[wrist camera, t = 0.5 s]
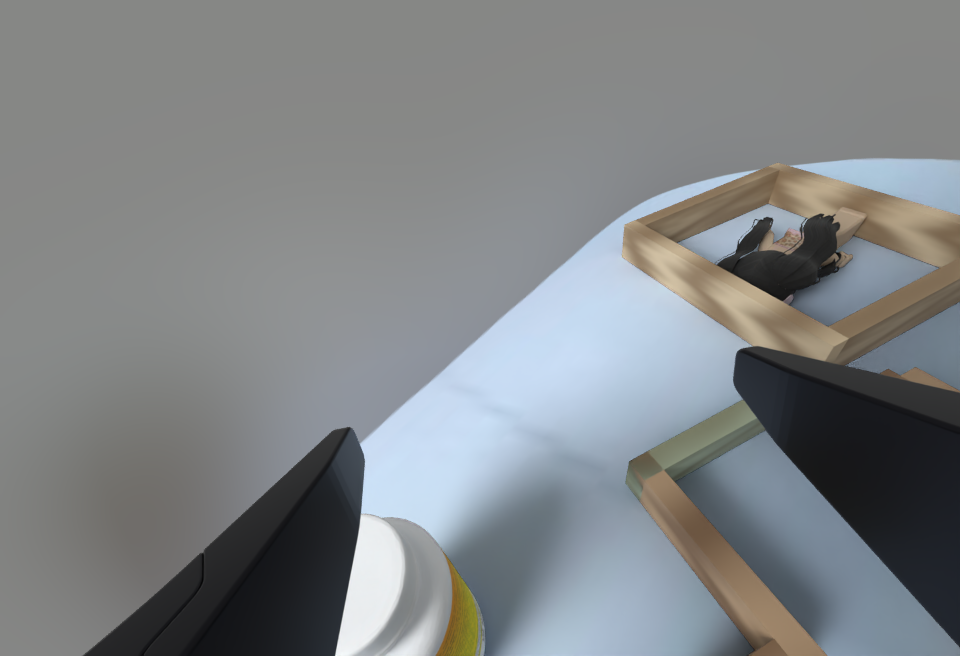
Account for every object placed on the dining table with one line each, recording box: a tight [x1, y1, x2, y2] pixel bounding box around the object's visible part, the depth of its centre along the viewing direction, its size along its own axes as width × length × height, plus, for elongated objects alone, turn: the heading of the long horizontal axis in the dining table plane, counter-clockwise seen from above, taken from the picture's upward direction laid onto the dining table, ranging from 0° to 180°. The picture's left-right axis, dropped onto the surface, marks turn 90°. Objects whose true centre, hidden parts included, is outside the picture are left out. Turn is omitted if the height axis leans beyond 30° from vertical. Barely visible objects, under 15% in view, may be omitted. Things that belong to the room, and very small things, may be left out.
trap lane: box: [626, 367, 960, 656], centre depth 16 cm, size 20×23×2 cm
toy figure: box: [717, 207, 867, 305], centre depth 32 cm, size 7×6×15 cm
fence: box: [622, 163, 960, 366], centre depth 32 cm, size 18×18×4 cm
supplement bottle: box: [335, 514, 485, 656], centre depth 15 cm, size 6×6×10 cm
